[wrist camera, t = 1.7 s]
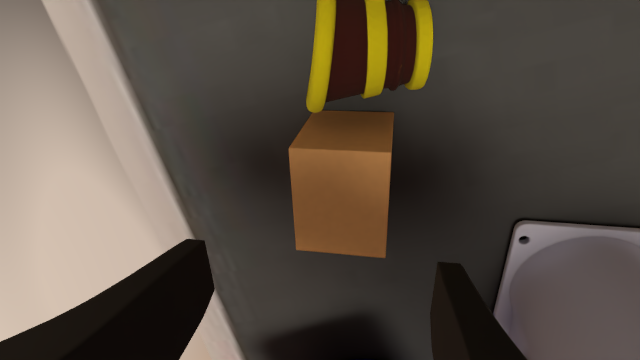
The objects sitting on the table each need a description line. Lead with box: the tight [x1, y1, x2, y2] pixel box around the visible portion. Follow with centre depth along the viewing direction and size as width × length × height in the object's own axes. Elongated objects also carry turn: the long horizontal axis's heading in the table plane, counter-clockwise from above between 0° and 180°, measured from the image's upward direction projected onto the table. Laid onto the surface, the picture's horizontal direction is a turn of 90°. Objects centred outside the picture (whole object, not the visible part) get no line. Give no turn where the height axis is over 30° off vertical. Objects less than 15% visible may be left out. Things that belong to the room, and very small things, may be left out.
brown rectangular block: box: [289, 110, 394, 258], centre depth 18 cm, size 5×4×5 cm
